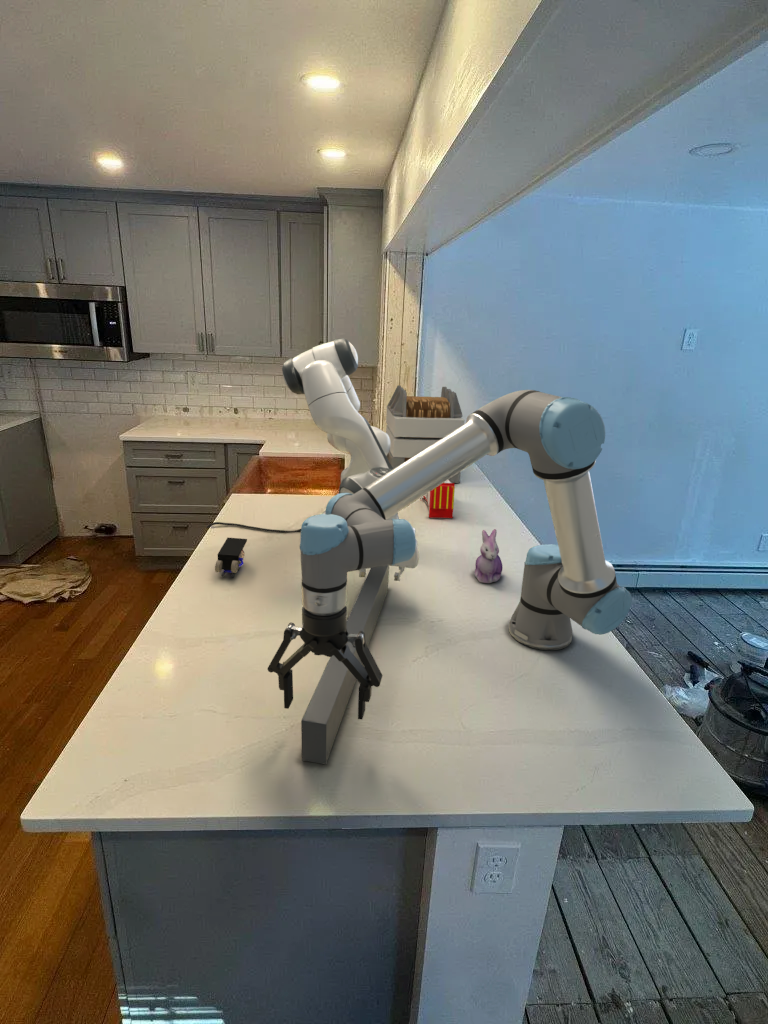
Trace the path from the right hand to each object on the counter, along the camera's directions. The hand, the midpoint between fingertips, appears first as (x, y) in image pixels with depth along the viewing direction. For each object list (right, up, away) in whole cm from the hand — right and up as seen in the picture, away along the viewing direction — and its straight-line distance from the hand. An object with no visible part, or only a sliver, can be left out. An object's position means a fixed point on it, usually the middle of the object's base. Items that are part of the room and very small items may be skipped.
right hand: (324, 709), depth 103 cm
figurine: (+42, +16, +68) cm, 81 cm away
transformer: (+28, +54, +172) cm, 183 cm away
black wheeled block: (-34, +19, +65) cm, 76 cm away
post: (+4, +3, +27) cm, 27 cm away
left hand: (+10, +18, +49) cm, 53 cm away
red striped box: (+32, +38, +127) cm, 136 cm away
